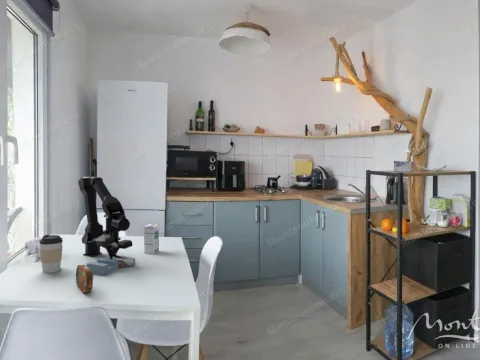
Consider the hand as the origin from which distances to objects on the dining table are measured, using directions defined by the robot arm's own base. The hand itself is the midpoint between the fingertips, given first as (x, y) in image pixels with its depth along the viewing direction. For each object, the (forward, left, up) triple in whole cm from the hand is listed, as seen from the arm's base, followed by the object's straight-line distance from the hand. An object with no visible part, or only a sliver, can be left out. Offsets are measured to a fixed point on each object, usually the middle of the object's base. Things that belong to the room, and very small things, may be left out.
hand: (112, 260), depth 160 cm
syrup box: (+6, +23, -1) cm, 23 cm away
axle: (+7, 0, +1) cm, 7 cm away
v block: (+4, -10, -1) cm, 11 cm away
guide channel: (+3, 0, -1) cm, 3 cm away
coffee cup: (-17, -18, -1) cm, 25 cm away
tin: (+12, -29, -1) cm, 31 cm away
